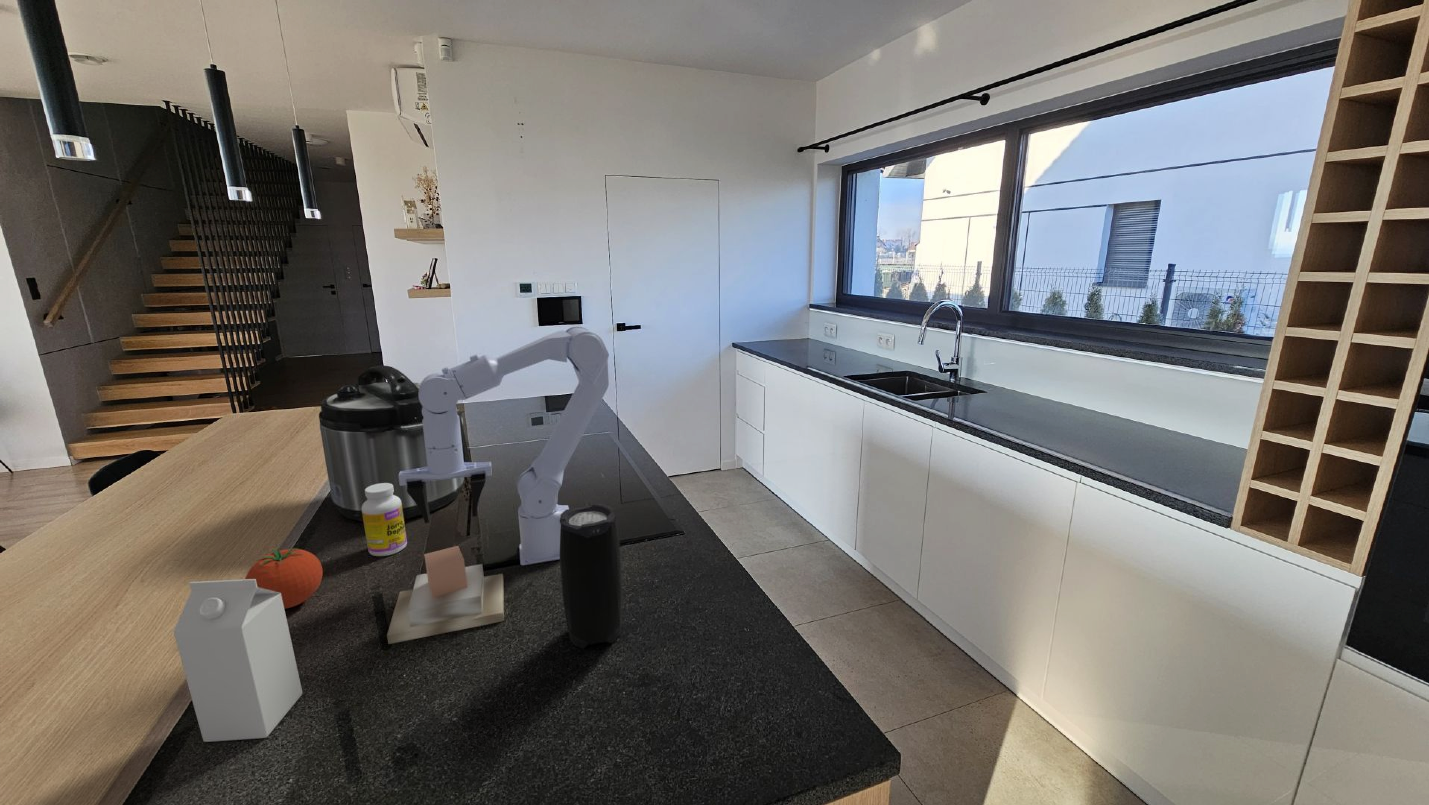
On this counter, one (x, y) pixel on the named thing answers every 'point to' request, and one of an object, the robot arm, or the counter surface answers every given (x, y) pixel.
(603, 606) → the portable speaker
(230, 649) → the milk carton
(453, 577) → the cube
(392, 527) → the supplement bottle
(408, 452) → the pressure cooker
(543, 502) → the robot arm
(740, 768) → the counter surface
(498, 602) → the base
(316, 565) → the tomato
